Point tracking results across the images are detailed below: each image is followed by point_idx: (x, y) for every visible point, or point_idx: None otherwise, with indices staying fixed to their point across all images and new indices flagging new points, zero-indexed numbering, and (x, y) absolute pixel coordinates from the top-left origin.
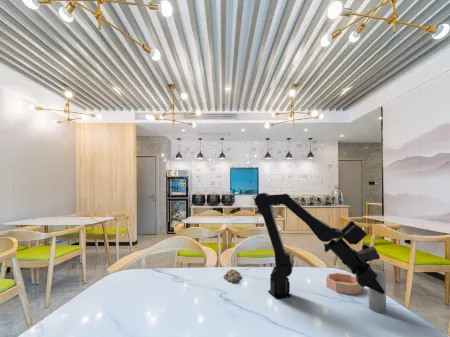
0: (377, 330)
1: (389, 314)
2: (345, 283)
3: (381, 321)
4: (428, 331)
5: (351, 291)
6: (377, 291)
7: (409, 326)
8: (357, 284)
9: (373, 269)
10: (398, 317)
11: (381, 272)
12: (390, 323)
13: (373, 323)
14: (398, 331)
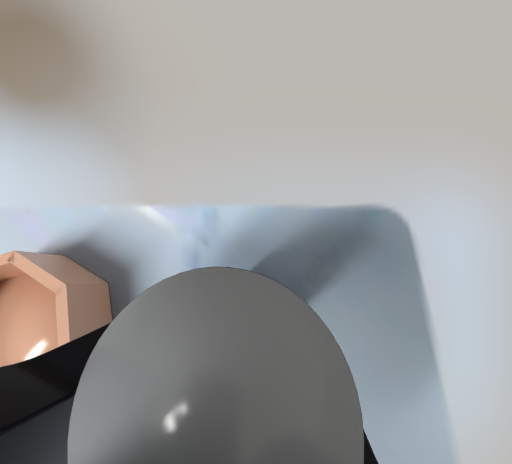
0: (436, 433)
1: (296, 284)
2: (12, 316)
3: (356, 359)
4: (405, 224)
5: None
6: None
7: (380, 267)
8: (70, 311)
9: (82, 393)
10: (317, 263)
11: (246, 338)
12: (368, 329)
13: (378, 411)
14: (426, 338)
